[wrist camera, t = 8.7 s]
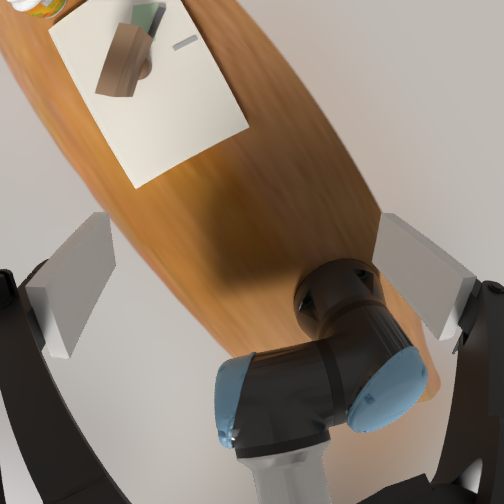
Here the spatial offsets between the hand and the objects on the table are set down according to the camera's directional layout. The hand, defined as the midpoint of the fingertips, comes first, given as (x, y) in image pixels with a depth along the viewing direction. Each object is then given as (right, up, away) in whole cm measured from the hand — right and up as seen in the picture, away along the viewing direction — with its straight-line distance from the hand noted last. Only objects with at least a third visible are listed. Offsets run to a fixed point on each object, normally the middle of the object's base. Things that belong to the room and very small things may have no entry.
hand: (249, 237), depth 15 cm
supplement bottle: (-27, +33, +11) cm, 44 cm away
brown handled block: (-12, +23, +15) cm, 30 cm away
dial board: (-13, +22, +18) cm, 31 cm away
